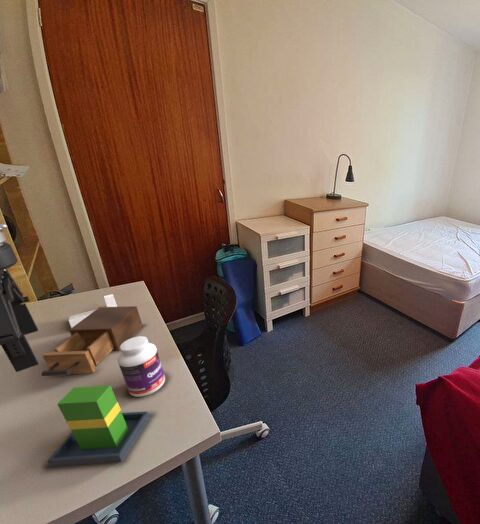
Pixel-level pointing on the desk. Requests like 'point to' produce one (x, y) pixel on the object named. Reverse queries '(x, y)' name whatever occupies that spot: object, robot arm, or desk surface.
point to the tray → (74, 455)
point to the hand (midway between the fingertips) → (28, 348)
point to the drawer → (79, 353)
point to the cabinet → (112, 323)
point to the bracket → (79, 317)
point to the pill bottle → (140, 366)
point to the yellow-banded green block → (94, 417)
